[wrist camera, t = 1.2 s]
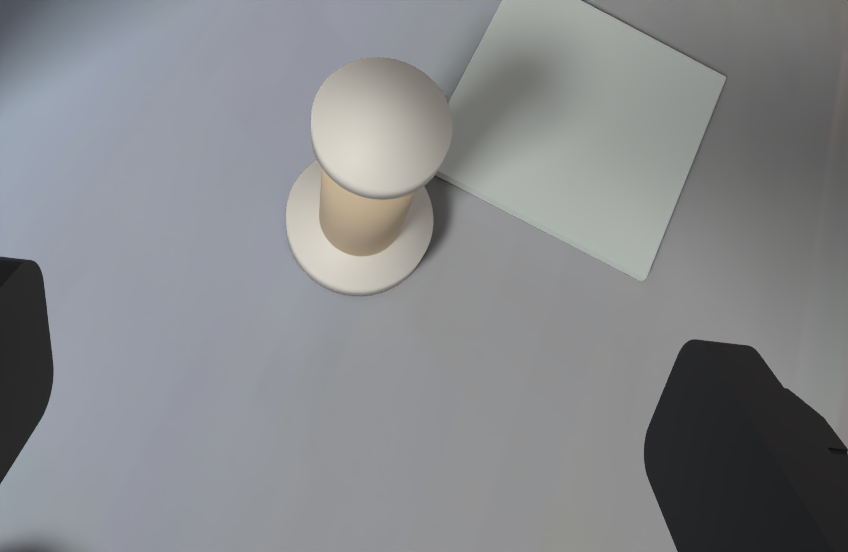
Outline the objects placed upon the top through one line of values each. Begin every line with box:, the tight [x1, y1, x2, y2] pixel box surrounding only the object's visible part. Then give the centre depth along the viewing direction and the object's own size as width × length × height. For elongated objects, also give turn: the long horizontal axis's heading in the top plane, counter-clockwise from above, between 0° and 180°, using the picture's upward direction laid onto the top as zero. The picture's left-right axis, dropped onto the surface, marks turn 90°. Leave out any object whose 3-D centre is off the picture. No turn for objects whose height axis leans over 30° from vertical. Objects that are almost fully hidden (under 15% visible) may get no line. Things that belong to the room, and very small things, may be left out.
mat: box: [435, 0, 726, 281], centre depth 36 cm, size 12×12×1 cm
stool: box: [286, 57, 453, 296], centre depth 28 cm, size 6×6×11 cm
